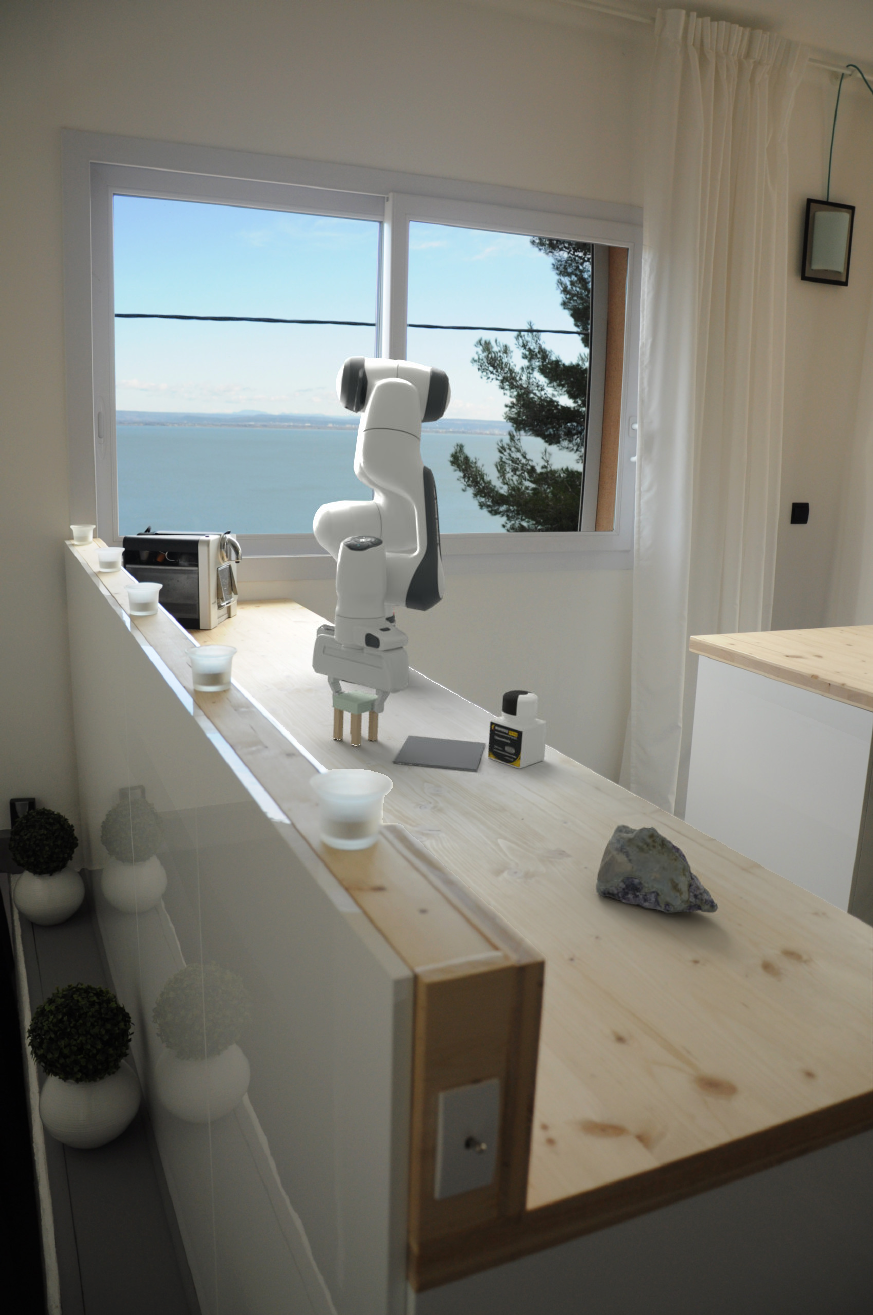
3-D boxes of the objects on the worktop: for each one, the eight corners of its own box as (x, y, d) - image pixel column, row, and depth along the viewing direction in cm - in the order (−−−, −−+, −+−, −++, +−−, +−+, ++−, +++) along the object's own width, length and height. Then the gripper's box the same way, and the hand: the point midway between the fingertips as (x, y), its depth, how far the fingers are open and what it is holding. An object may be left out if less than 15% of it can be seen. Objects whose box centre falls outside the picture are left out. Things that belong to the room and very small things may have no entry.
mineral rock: (720, 926, 112) (731, 847, 109) (644, 941, 107) (654, 859, 105) (655, 877, 123) (663, 805, 121) (584, 889, 119) (591, 815, 116)
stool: (331, 739, 170) (332, 696, 168) (354, 732, 174) (356, 690, 172) (356, 747, 166) (357, 703, 164) (379, 739, 171) (380, 697, 169)
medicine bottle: (486, 758, 164) (491, 691, 161) (512, 749, 169) (517, 685, 166) (519, 769, 159) (524, 701, 156) (544, 760, 164) (550, 694, 162)
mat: (408, 737, 173) (408, 735, 173) (485, 745, 171) (485, 742, 171) (393, 763, 159) (393, 760, 159) (476, 771, 157) (476, 769, 157)
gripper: (305, 623, 169) (303, 697, 172) (391, 642, 157) (388, 722, 160) (330, 618, 174) (328, 691, 177) (415, 637, 162) (412, 715, 165)
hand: (357, 706), depth 168 cm, fingers open, 8 cm apart
